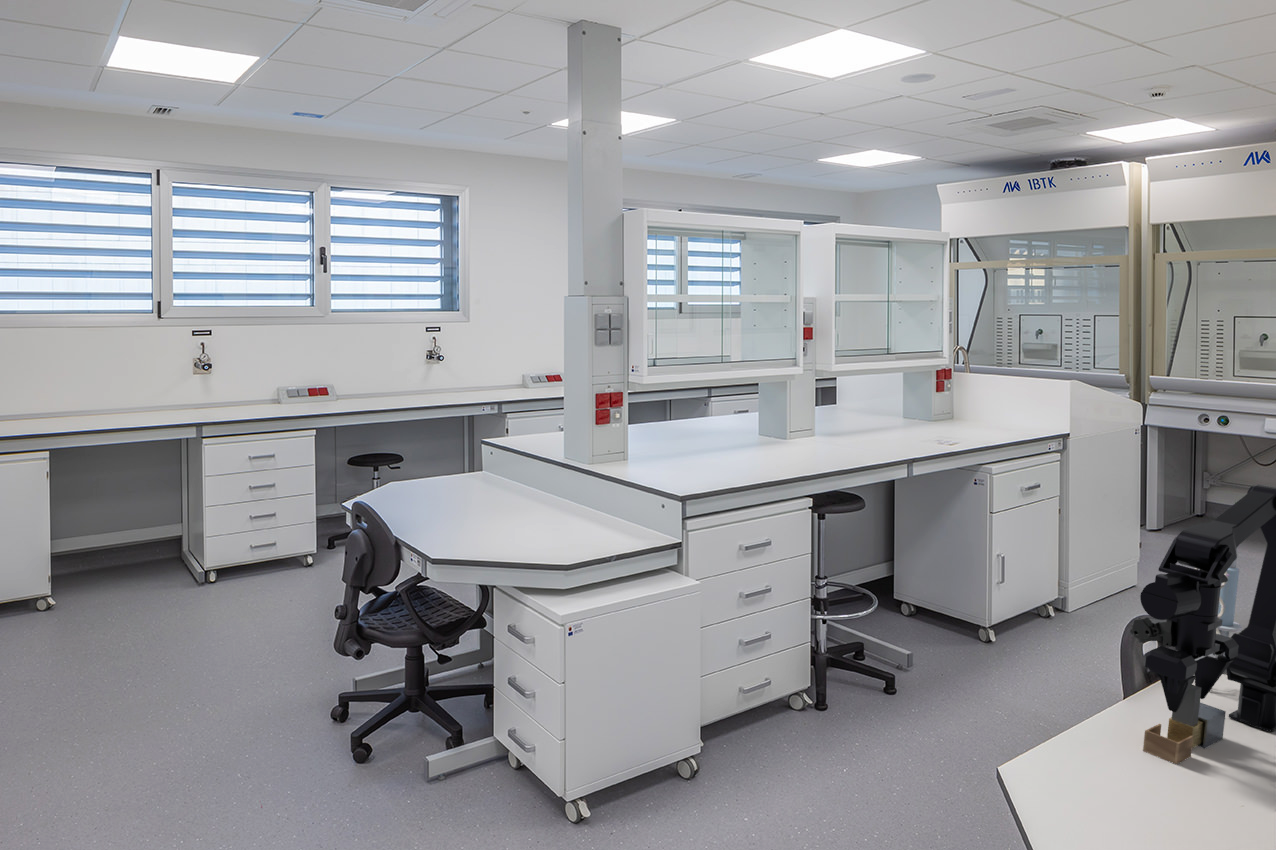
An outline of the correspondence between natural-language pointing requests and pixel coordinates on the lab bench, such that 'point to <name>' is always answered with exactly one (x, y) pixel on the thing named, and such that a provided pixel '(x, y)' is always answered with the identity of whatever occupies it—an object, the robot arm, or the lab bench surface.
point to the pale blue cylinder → (1229, 603)
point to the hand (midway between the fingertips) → (1186, 704)
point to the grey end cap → (1211, 724)
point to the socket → (1166, 746)
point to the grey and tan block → (1187, 719)
